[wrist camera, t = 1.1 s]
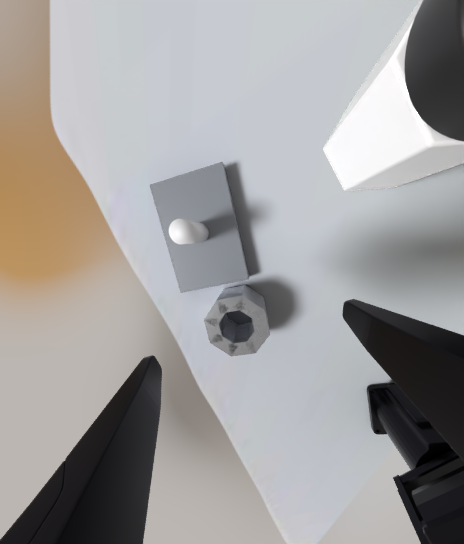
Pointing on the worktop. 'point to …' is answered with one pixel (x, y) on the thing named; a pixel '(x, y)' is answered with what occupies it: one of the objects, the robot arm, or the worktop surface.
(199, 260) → the block
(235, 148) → the worktop surface
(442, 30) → the jar
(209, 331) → the hub ring
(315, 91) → the worktop surface
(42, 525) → the robot arm
